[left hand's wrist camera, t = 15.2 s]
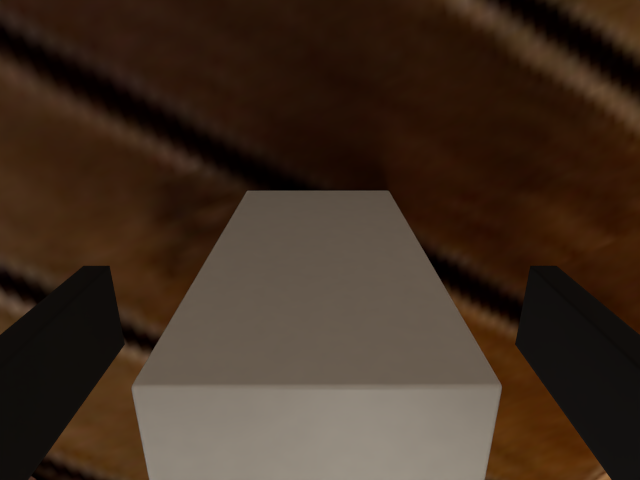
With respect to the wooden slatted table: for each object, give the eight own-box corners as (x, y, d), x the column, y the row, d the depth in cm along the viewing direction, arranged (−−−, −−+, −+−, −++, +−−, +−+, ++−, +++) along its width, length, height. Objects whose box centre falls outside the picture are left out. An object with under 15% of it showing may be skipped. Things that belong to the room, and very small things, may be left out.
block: (381, 321, 17) (457, 629, 8) (255, 322, 17) (176, 629, 8) (388, 190, 15) (504, 386, 6) (246, 190, 15) (129, 387, 6)
